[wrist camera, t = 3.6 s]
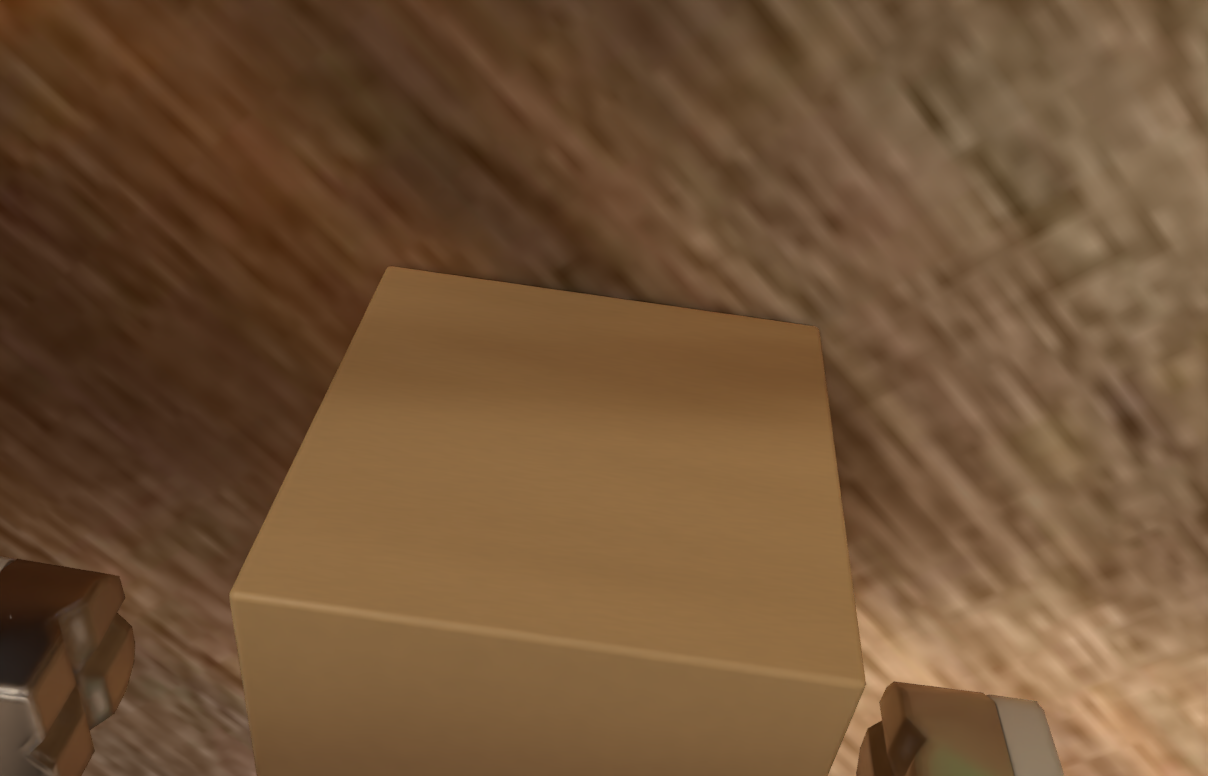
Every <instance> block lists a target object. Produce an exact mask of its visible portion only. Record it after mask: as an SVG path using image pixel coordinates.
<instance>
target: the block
mask: <svg viewBox="0 0 1208 776" xmlns="http://www.w3.org/2000/svg"><path fill="white" fill-rule="evenodd" d="M229 599H230V605H231V612H232V618H233V625H234V631H235V638H236V644H237V650H238V657H239V663H240V670H241V676H242V683H243V689H244V695H245V702H246V708H247V715H248V721H249V728H250V734H251V740H252V747H253V753H254V760H255V766H256V773H257V776H827V775H828V773H829V771H830V768H831V766H832V764H833V761H834V759H835V757H836V754H837V752H838V749H839V747H840V745H841V742H842V740H843V738H844V735H845V733H846V731H847V728H848V726H849V723H850V721H851V719H852V716H853V714H854V712H855V709H856V707H857V705H858V702H859V700H860V697H861V695H862V693H863V690H864V688H865V685H866V682H865V674H864V666H863V659H862V651H861V643H860V636H859V628H858V621H857V613H856V605H855V598H854V590H853V583H852V575H851V567H850V560H849V552H848V545H847V537H846V529H845V522H844V514H843V507H842V499H841V491H840V484H839V476H838V469H837V461H836V453H835V446H834V438H833V431H832V423H831V415H830V408H829V400H828V393H827V385H826V377H825V370H824V362H823V355H822V347H821V339H820V332H819V329H818V328H817V327H815V326H810V325H803V324H796V323H789V322H782V321H775V320H768V319H761V318H754V317H746V316H739V315H732V314H725V313H718V312H711V311H704V310H697V309H690V308H683V307H676V306H669V305H662V304H655V303H648V302H641V301H634V300H627V299H620V298H612V297H605V296H598V295H591V294H584V293H577V292H570V291H563V290H556V289H549V288H542V287H535V286H528V285H521V284H514V283H507V282H500V281H493V280H486V279H479V278H471V277H464V276H457V275H450V274H443V273H436V272H429V271H422V270H415V269H408V268H401V267H394V266H391V267H387V269H386V271H385V273H384V275H383V277H382V279H381V281H380V283H379V285H378V287H377V289H376V291H375V293H374V295H373V297H372V300H371V302H370V304H369V306H368V308H367V310H366V312H365V314H364V316H363V318H362V320H361V322H360V324H359V326H358V328H357V331H356V333H355V335H354V337H353V339H352V341H351V343H350V345H349V347H348V349H347V351H346V353H345V355H344V357H343V360H342V362H341V364H340V366H339V368H338V370H337V372H336V374H335V376H334V378H333V380H332V382H331V384H330V386H329V388H328V391H327V393H326V395H325V397H324V399H323V401H322V403H321V405H320V407H319V409H318V411H317V413H316V415H315V417H314V420H313V422H312V424H311V426H310V428H309V430H308V432H307V434H306V436H305V438H304V440H303V442H302V444H301V446H300V448H299V451H298V453H297V455H296V457H295V459H294V461H293V463H292V465H291V467H290V469H289V471H288V473H287V475H286V477H285V479H284V482H283V484H282V486H281V488H280V490H279V492H278V494H277V496H276V498H275V500H274V502H273V504H272V506H271V508H270V511H269V513H268V515H267V517H266V519H265V521H264V523H263V525H262V527H261V529H260V531H259V533H258V535H257V537H256V539H255V542H254V544H253V546H252V548H251V550H250V552H249V554H248V556H247V558H246V560H245V562H244V564H243V566H242V568H241V570H240V573H239V575H238V577H237V579H236V581H235V583H234V585H233V587H232V589H231V591H230V593H229Z"/></svg>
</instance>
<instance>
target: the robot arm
mask: <svg viewBox="0 0 1208 776" xmlns="http://www.w3.org/2000/svg"><path fill="white" fill-rule="evenodd" d="M124 600H125V594H124V591H123V587H122V584H121V580H120V576H116V575H111V574H105V573H99V572H93V571H87V570H81V569H75V568H69V567H63V566H57V565H51V564H45V563H39V562H33V561H27V560H21V559H14V558H7V557H1V556H0V776H82V774H83V772H84V770H85V768H86V766H87V765H88V763H89V761H90V759H91V757H92V755H93V753H94V752H95V750H94V746H93V742H92V738H91V734H90V730H91V729H92V728H94V727H95V726H97V725H98V724H100V723H101V722H103V721H104V720H106V719H107V718H109V717H110V716H112V715H113V714H115V712H116V710H117V708H118V706H119V704H120V702H121V700H122V698H123V696H124V694H125V692H126V690H127V686H128V683H129V679H130V676H131V672H132V669H133V665H134V656H135V639H134V634H133V629H132V626H131V625H130V624H129V623H128V622H127V621H126V620H125V619H123V618H122V617H121V616H120V615H119V614H118V613H117V612H118V610H119V608H120V607H121V605H122V603H123V601H124ZM879 703H880V710H881V716H882V721H880V722H879V723H877V724H875V725H873V726H871V727H870V728H868V729H867V732H866V735H865V737H864V740H863V742H862V745H861V747H860V753H859V759H858V766H857V772H856V776H1064V773H1063V769H1062V766H1061V763H1060V760H1059V757H1058V754H1057V750H1056V747H1055V744H1054V741H1053V738H1052V734H1051V731H1050V728H1049V725H1048V722H1047V719H1046V715H1045V712H1044V710H1043V709H1042V707H1041V706H1040V705H1039V704H1038V703H1037V701H1031V700H1024V699H1017V698H1010V697H1003V696H996V695H985V694H984V693H981V692H973V691H965V690H957V689H949V688H941V687H933V686H925V685H917V684H909V683H901V682H893V683H891V684H890V685H889V686H888V687H887V688H886V690H885V692H884V694H883V696H882V698H881V700H880V702H879Z"/></svg>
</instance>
